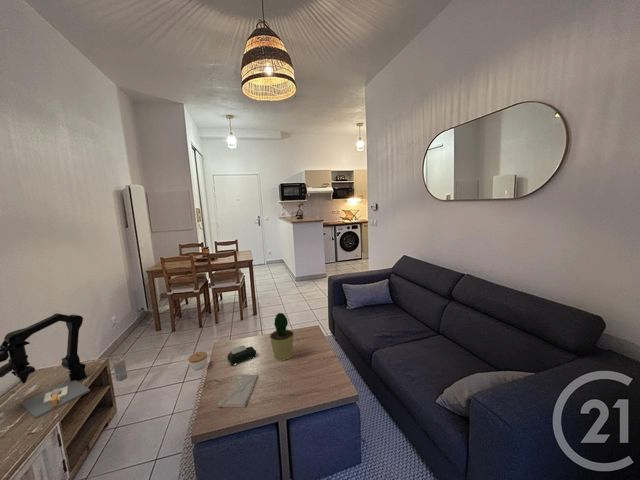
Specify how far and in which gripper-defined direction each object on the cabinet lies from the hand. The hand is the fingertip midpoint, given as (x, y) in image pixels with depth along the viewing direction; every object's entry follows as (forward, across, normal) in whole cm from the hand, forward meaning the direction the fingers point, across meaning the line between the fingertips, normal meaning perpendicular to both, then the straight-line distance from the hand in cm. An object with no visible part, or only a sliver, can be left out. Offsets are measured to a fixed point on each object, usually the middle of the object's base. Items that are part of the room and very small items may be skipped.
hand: (24, 382), depth 143 cm
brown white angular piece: (+11, +12, +8) cm, 18 cm away
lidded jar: (+12, +58, +61) cm, 86 cm away
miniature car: (+12, +77, +80) cm, 112 cm away
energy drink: (+12, +24, +34) cm, 43 cm away
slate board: (+12, +9, +9) cm, 17 cm away
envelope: (+13, +98, +56) cm, 114 cm away
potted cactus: (+12, +100, +94) cm, 138 cm away
